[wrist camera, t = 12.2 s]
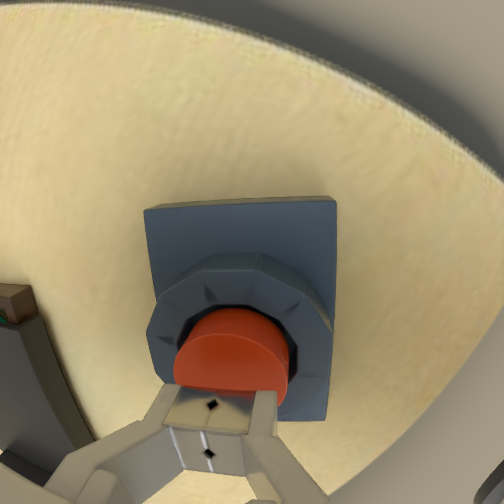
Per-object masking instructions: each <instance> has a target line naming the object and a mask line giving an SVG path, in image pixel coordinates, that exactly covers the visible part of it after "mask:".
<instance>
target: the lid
mask: <svg viewBox="0 0 504 504" xmlns="http://www.w3.org/2000/svg"><path fill="white" fill-rule="evenodd" d="M93 442H94V440H93V438H92V436H91V435H90V433H89V431H88V429H87V427H86V425H85V423H84V421H83V419H82V417H81V415H80V413H79V411H78V409H77V407H76V405H75V403H74V400H73V398H72V396H71V394H70V391H69V389H68V387H67V385H66V382H65V380H64V377H63V375H62V373H61V370H60V368H59V365H58V362H57V360H56V357H55V354H54V352H53V349H52V346H51V343H50V341H49V338H48V335H47V332H46V329H45V325H44V322H43V319H42V316H41V315H38V314H35V315H34V316H32V317H31V318H29V319H28V320H26V321H25V322H23V323H22V324H20V325H19V326H18V325H13V324H9V323H4V322H0V449H1V450H3V453H2V454H1V455H0V462H1V463H3V464H4V465H6V466H7V467H9V468H10V469H12V470H13V471H15V472H17V473H18V474H20V475H21V476H23V477H25V478H26V479H28V480H30V481H32V482H33V483H35V484H37V485H39V486H41V487H42V488H43V487H44V486H45V484H46V483H47V482H48V480H49V479H50V477H51V476H52V475H53V473H54V472H55V470H56V469H57V468H58V466H59V465H60V463H61V462H62V461H63V459H64V458H65V456H66V455H67V454H69V453H72V452H74V451H76V450H78V449H80V448H83V447H85V446H87V445H89V444H91V443H93Z"/></svg>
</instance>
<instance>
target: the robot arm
mask: <svg viewBox="0 0 504 504" xmlns="http://www.w3.org/2000/svg"><path fill="white" fill-rule="evenodd" d="M277 423H278V416H277V391H276V390H257V391H251V390H228V389H215V388H205V387H196V386H188V385H178V384H170V383H166V384H164V385H163V386H162V388H161V389H160V391H159V393H158V395H157V396H156V398H155V400H154V402H153V403H152V405H151V407H150V408H149V410H148V412H147V414H146V415H145V417H144V419H143V421H138V420H137V421H135V422H133V423H131V424H129V425H127V426H125V427H123V428H122V429H120V430H118V431H116V432H114V433H112V434H110V435H108V436H106V437H103V438H101V439H99V440H97V441H95V442H93V443H91V444H89V445H87V446H85V447H83V448H80V449H78V450H76V451H74V452H72V453H69V454H67V455H66V456H65V458H64V459H63V461H62V462H61V463H60V465H59V466H58V468H57V469H56V470H55V472H54V473H53V475H52V476H51V477H50V479H49V480H48V482H47V483H46V484H45V486H44V487H43V488H42V487H41V486H39V485H37V484H35V483H33V482H32V481H30V480H28V479H26V478H25V477H23V476H21V475H20V474H18V473H17V472H15V471H13V470H12V469H10V468H9V467H7V466H6V465H4V464H3V463H1V462H0V504H141V503H143V502H144V501H146V500H147V499H148V498H150V497H151V496H152V495H153V494H155V493H156V492H157V491H159V490H160V489H161V488H163V487H164V486H165V485H166V484H168V483H169V482H170V481H171V480H173V479H174V478H175V477H176V476H178V475H179V474H180V473H181V472H182V471H183V469H185V470H192V471H200V472H208V473H217V474H224V475H232V476H241V477H246V478H247V480H248V482H249V484H250V486H251V488H252V489H253V491H254V493H255V495H256V497H257V498H258V500H255V499H252V500H251V501H249V502H247V503H246V504H330V498H329V497H328V496H327V495H326V494H325V493H324V491H323V490H322V489H321V488H320V487H319V486H318V484H317V483H316V482H315V481H314V480H313V479H312V477H311V476H310V475H309V474H308V473H307V471H306V470H305V469H304V468H303V467H302V465H301V464H300V463H299V462H298V460H297V459H296V458H295V457H294V456H293V454H292V453H291V452H290V451H289V449H288V448H287V447H286V445H285V444H284V443H283V442H282V440H281V439H280V438H279V437H278V436H277ZM499 504H504V497H503V499H502V500H501V501H500V503H499Z"/></svg>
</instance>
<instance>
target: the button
mask: <svg viewBox="0 0 504 504" xmlns="http://www.w3.org/2000/svg"><path fill="white" fill-rule="evenodd" d="M288 373H289V347H288V343H287V341H286V339H285V337H284V335H283V333H282V332H281V330H280V329H279V328H278V327H277V326H276V325H275V324H274V323H273V322H272V321H270V320H269V319H268V318H266V317H264V316H263V315H261V314H258V313H256V312H253V311H250V310H246V309H241V308H226V309H220V310H216V311H213V312H211V313H209V314H207V315H205V316H204V317H202V318H201V319H200V320H199V321H198V322H197V323H196V324H195V325H194V327H193V329H192V330H191V332H190V334H189V335H188V337H187V339H186V340H185V342H184V344H183V345H182V347H181V349H180V350H179V352H178V354H177V355H176V358H175V361H174V366H173V374H174V379H175V382H176V384H178V385H188V386H196V387H205V388H215V389H228V390H251V391H257V390H276V391H277V408H278V407H279V406H280V404H281V403H282V401H283V400H284V398H285V396H286V393H287V389H288Z"/></svg>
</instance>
